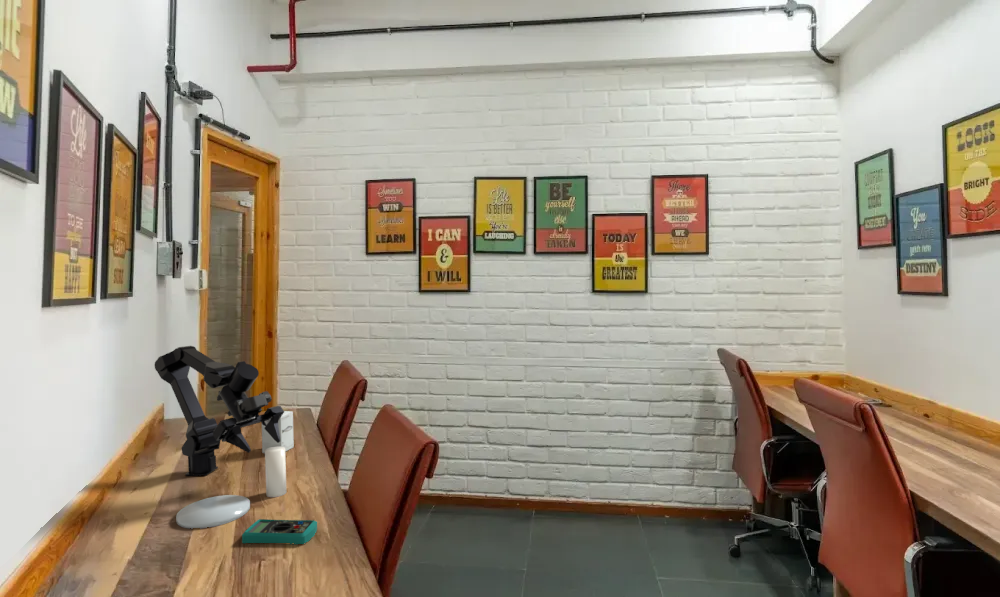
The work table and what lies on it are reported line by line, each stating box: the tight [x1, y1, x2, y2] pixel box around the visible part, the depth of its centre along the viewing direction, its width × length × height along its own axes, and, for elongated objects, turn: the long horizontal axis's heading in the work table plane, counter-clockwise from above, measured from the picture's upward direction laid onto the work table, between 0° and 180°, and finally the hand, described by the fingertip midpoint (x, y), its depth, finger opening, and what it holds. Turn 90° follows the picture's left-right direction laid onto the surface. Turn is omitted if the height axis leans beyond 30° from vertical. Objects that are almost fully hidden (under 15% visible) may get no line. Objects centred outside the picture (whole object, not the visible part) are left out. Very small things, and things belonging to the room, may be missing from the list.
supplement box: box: [261, 410, 295, 454], centre depth 177 cm, size 7×7×13 cm
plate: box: [175, 494, 251, 530], centre depth 131 cm, size 16×16×1 cm
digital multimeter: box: [241, 518, 318, 545], centre depth 119 cm, size 7×15×3 cm, turn 87°
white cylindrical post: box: [264, 447, 287, 498], centre depth 142 cm, size 5×5×12 cm
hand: (264, 446), depth 144 cm, fingers open, 9 cm apart
